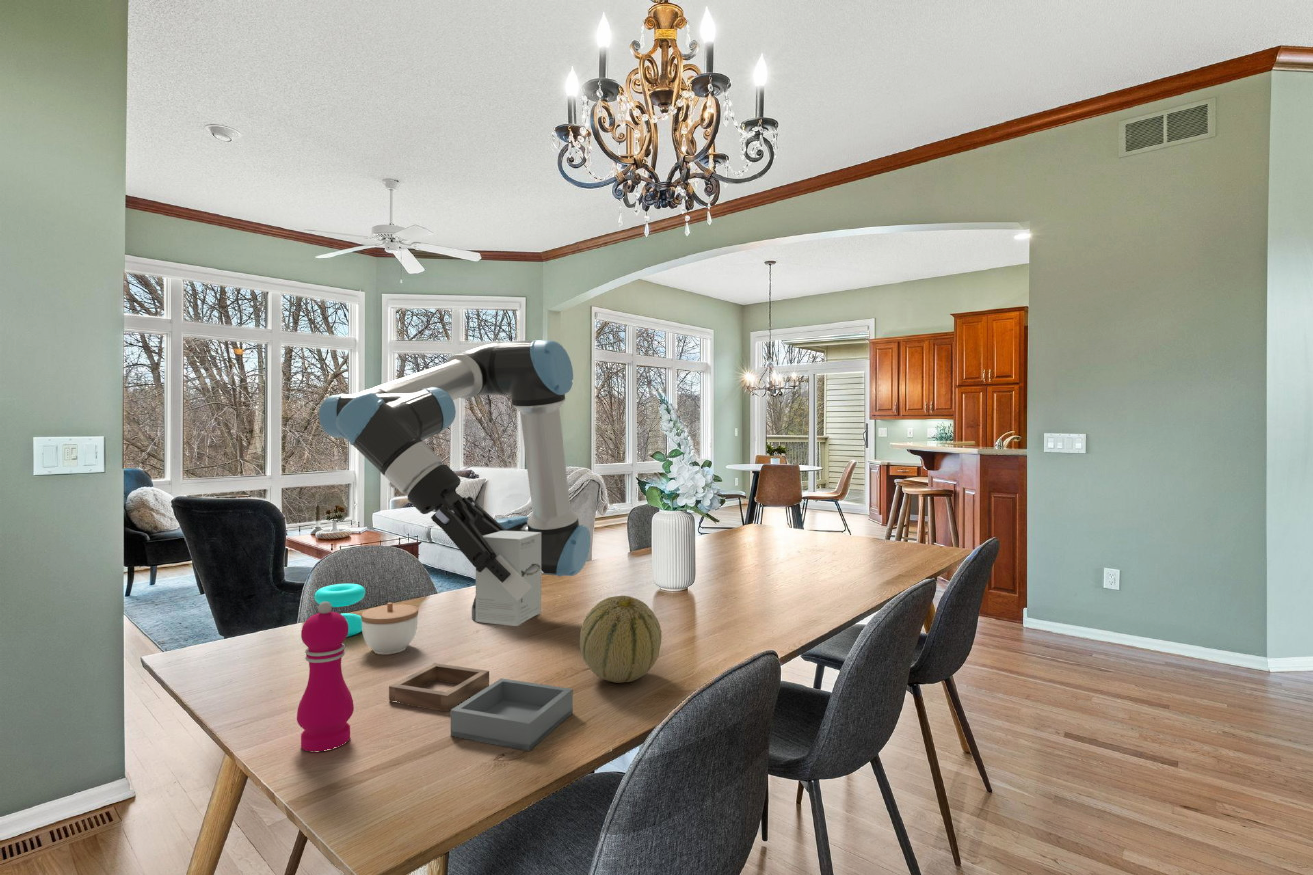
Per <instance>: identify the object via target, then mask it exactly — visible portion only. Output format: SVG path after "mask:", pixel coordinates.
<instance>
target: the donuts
mask: <svg viewBox="0 0 1313 875" xmlns="http://www.w3.org/2000/svg"><path fill="white" fill-rule="evenodd" d="M365 595H366V589H365V587H364V586H362V585H360V584H356V583H335V584H331V585H326V586H323V587H320V588H318V589H317V591H315V594H314V600H315V602H316V603H317V604H318V605H320V604H321V603H322V602H329V603H331V605H332V608H340V607H342V608H343V607H347V606H352V605H355V604H356V603H359V602H361V600H363V599H364V597H365ZM340 614H341V615H343V616H344V617H345V619H346V620H347V623H348V629H349V630H348V635H347V637H346V638H349V637H352V636H355V635H358V634H359V633H360V634H361V632H362V620H361V615H360V614H355V613H349V612H345V613H344V612H343V613H340Z"/></svg>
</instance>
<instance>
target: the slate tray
mask: <svg viewBox="0 0 1313 875" xmlns="http://www.w3.org/2000/svg"><path fill="white" fill-rule="evenodd" d="M573 693H574V690H573V688H569V687H561V686H555V685H548V684H543V683H536V682H529V681H528V682H527V681H521V680H514V679H507V678H503V677H502V678H499V679H498V680H496V681H494V682H493V683H491V684H489V686H487V687H486V688H484V689H483V690H481V691H479V692H478V693H476V694H475V695H473V696H471V697H470V698H468V699H467V700H465V701H463V702H462V703H460V704H459V705H457V706H455V707H454V708H452V709H451V710H450V737H452V736H456V737H455V738H457V737H458V739H462V738H466V739H465V740H468V739H469V741H473V740H475V741H474V742H478V743H484V744H490V745H493V746H494V745H495V746H501V747H506V748H511V749H514V750H515V749H517V750H521V751H525V752H531V751H532V749H534V748H535V747H536V746H537V745H538V744H540V743H541V742H542V741H543V740H544V739H545V738H546V737H547V736H548V735H550V734H551V733H552V732H553V731H554V730H556V729H557V727H559V726H560V725H561V724H562V723H564V722H565V720H567V719H569V717H570V716H571V715H572V714H574V709H573V708H574V700H573V698H574V697H573V696H574V695H573Z"/></svg>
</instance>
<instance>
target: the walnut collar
mask: <svg viewBox="0 0 1313 875" xmlns="http://www.w3.org/2000/svg"><path fill="white" fill-rule="evenodd" d="M436 681H439V682H446V683H452V684H457V685H455V686H453V687H451V688H450V689H449V690H447V691H443V690H435V689H430V688H425V687H426V686H429V685H430V684H432V683H434V682H436ZM424 686H425V687H424ZM488 686H490V670H486V669H480V668H479V669H478V668H473V667H466V666H465V667H464V666H456V665H451V664H450V665H449V664H445V663H438V662H434V663H432V664H431V665H428V666H426V667H424V668H421V669H420V670H418V671H417V672H414V673H412V674H410V675H409V676H406V677H404V678H402V679H400V680H399V681H396V682H395V683H393V684H391V685H389V686H388V701H389V700H390V701H397V702H400V703H403V704H402V705H406V704H409V705H408V706H412V705H413V707H418V706H420V707H419V708H423V707H425V708H426V709H429V708H430V709H431V710H434V711H435V710H436V711H441V710H442V712H446V713H448V712H449V711H451V710H452V709H453V708H455V707H456V706H458V704H459V705H460V704H461V702H462V703H463V702H464V701H466V699H469V697H470V698H471V697H472V696H474V695H475V694H477V693H479V692H480V691H482V690H483V689H485V688H487V687H488ZM400 703H399V704H400ZM425 708H424V709H425Z"/></svg>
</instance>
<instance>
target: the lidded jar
mask: <svg viewBox="0 0 1313 875" xmlns="http://www.w3.org/2000/svg"><path fill="white" fill-rule="evenodd" d="M418 615H419V608H418V607H416V606H414V605H411V604H401V603H400V604H399V603H398V604H394V603H393V602H387V603H386V605H380V606H376V607H371V608H369V609H366V610H364V611H362V612H361V614H360V616H361V620H362V631H361V632H362V636H363V640H364V642H365V644H366V645H367V647H369V648H370V649H371V650H372V651H373V652H375V654H376V653H377V655H393V654H398V653H401V652H404V651H405V650H406V649H407V646H409V645H410V644H411V642H412V641H413V640H414V639H415V636H416V633H417V629H418V621H419V620H418V619H419V617H418ZM397 652H398V653H397Z"/></svg>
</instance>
